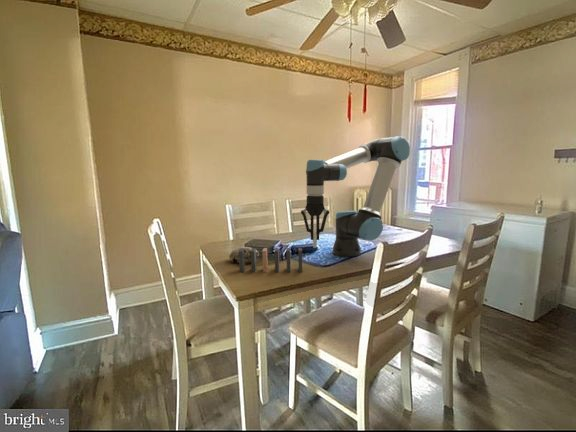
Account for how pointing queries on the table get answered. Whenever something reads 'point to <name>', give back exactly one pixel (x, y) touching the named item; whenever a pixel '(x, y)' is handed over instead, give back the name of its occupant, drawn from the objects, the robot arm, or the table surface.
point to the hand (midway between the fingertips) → (314, 246)
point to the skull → (247, 251)
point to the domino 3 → (265, 260)
